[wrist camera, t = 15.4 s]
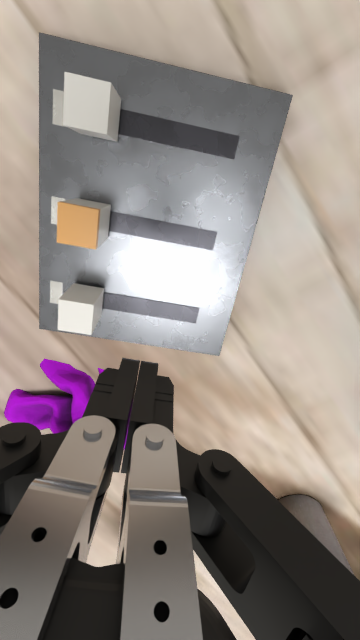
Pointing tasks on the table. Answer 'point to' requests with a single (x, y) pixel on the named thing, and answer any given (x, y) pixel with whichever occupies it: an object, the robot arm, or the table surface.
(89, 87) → the breaker
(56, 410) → the cloth
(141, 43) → the table surface
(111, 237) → the panel
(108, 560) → the table surface
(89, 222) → the block
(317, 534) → the pillar candle
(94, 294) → the block
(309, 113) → the table surface
